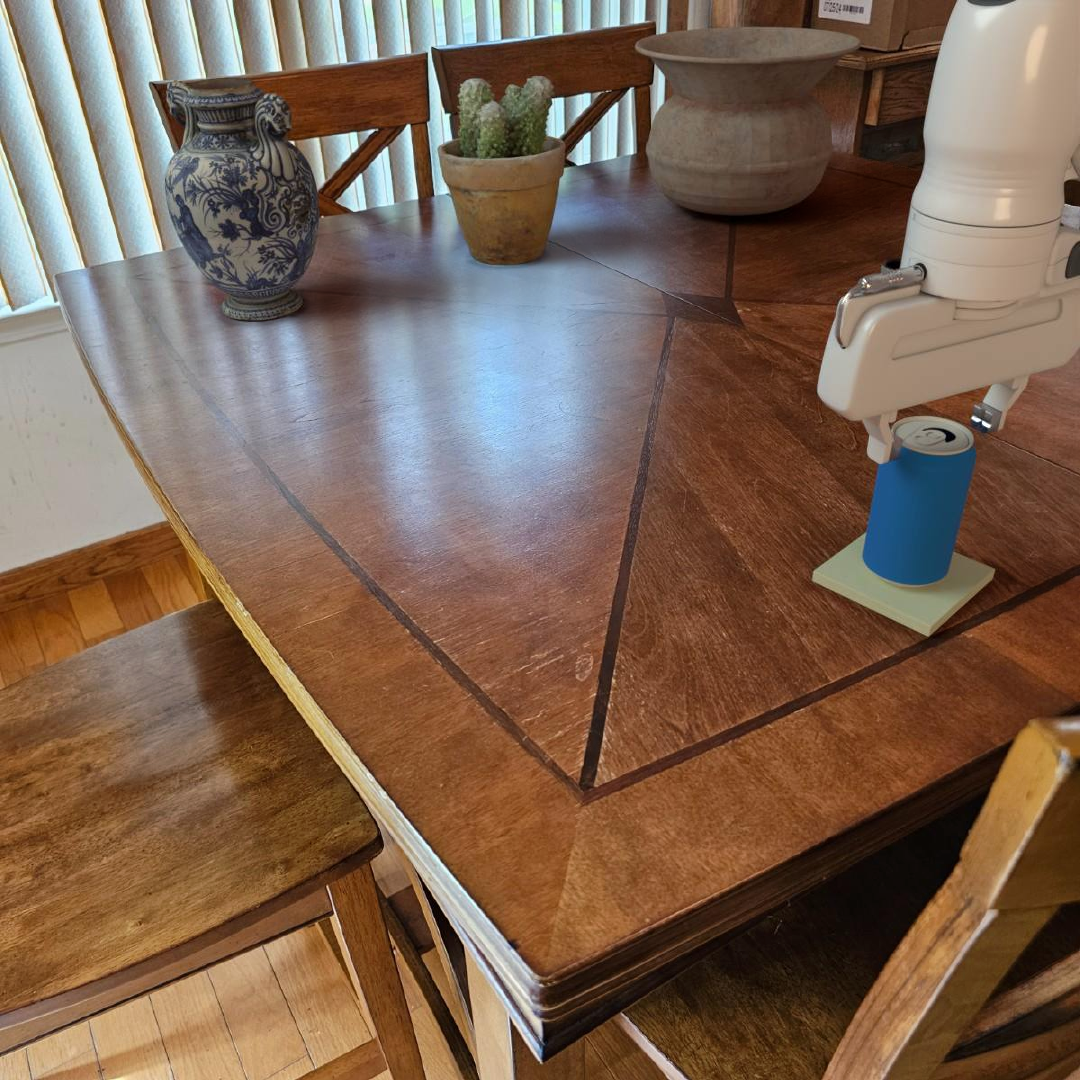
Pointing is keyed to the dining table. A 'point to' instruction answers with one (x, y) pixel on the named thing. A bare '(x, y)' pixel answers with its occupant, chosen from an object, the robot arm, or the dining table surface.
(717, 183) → the pot
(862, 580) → the mat
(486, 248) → the potted plant
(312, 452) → the dining table surface
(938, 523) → the beverage can
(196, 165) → the decorative vase
